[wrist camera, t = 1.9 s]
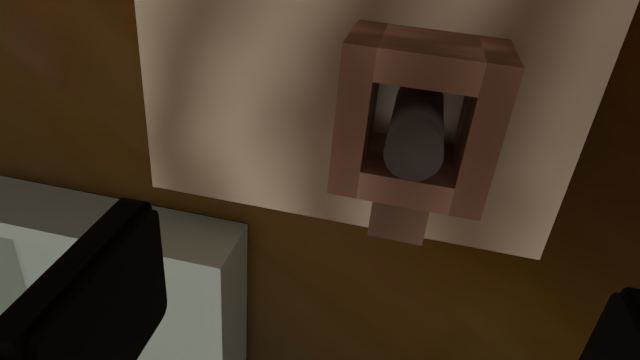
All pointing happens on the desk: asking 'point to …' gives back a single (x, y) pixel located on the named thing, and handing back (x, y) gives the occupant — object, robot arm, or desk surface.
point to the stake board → (391, 109)
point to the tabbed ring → (460, 158)
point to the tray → (178, 256)
